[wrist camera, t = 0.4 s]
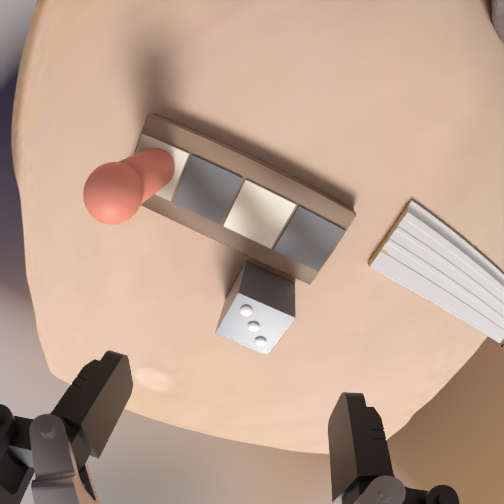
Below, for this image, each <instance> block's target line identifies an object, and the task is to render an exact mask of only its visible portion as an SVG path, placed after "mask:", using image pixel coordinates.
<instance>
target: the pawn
mask: <svg viewBox="0 0 504 504" xmlns="http://www.w3.org/2000/svg"><path fill="white" fill-rule="evenodd" d="M174 173H175V164H174V161H173V158H172V157H171V155H170V154H169V153H168V152H167V151H165V150H163V149H161V148H150V149H147V150H145V151H143V152H140V153H138V154H135V155H133V156H131V157H128V158H126V159H124V160H122V161H119V162H111V163H106V164H103V165H101V166H99V167H98V168H96V169H95V170H94V171H93V172H92V173H91V174H90V176H89V177H88V179H87V181H86V183H85V187H84V194H83V197H84V203H85V206H86V208H87V210H88V212H89V213H90V215H91V216H92V217H93V218H94V219H96V220H97V221H99V222H101V223H104V224H109V225H115V224H120V223H123V222H125V221H127V220H129V219H130V218H132V217H133V216H134V215H135V213H136V212H137V211H138V209H139V207H140V206H141V204H142V203H144V202H145V201H146V200H147V199H149V198H150V197H151V196H153V195H154V194H155V193H156V192H158V191H159V190H160V189H162V188H163V187H164V186H165V185H167V184H168V183H169V182H170V181H171V180H172V178H173V176H174Z"/></svg>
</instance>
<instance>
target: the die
mask: <svg viewBox="0 0 504 504" xmlns="http://www.w3.org/2000/svg"><path fill="white" fill-rule="evenodd" d="M294 319H295V283H292V282H290V281H288V280H286V279H284V278H282V277H280V276H277V275H275V274H273V273H271V272H269V271H267V270H264V269H262V268H260V267H258V266H256V265H254V264H252V263H249V262H247V261H246V263H245V264H244V266H243V268H242V270H241V272H240V274H239V275H238V277H237V279H236V281H235V283H234V285H233V286H232V288H231V290H230V292H229V294H228V296H227V297H226V299H225V302H224V306H223V309H222V312H221V316H220V319H219V322H218V326H217V329H216V332H215V334H217V335H219V336H222V337H224V338H227V339H229V340H231V341H234V342H236V343H239V344H241V345H243V346H246V347H248V348H251V349H253V350H256V351H258V352H261V353H264V354H266V355H267V354H268V353H269V351H270V350H271V349H272V348H273V346H274V345H275V344H276V343H277V341H278V340H279V339H280V337H281V336H282V335H283V333H284V332H285V331H286V329H287V328H288V327H289V326H290V324H291V323H292V322H293V320H294Z"/></svg>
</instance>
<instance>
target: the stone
mask: <svg viewBox="0 0 504 504" xmlns="http://www.w3.org/2000/svg"><path fill="white" fill-rule="evenodd" d="M491 1H492V15H491V16H492V21H493V24H494V27H495V30H496V32H497V33H498V35H499V37H500V39H501V41H502V42H503V43H504V0H491Z"/></svg>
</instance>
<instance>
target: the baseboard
mask: <svg viewBox="0 0 504 504" xmlns="http://www.w3.org/2000/svg"><path fill="white" fill-rule="evenodd" d="M368 265H369V267H371V268H372V269H374V270H376V271H378V272H380V273H382V274H383V275H385V276H387V277H389V278H391V279H392V280H394V281H396V282H398V283H399V284H401V285H403V286H405V287H407V288H408V289H410V290H412V291H414V292H415V293H417V294H419V295H421V296H422V297H424V298H426V299H427V300H429V301H431V302H433V303H434V304H436V305H438V306H439V307H441V308H443V309H445V310H446V311H448V312H450V313H451V314H453V315H455V316H456V317H458V318H460V319H461V320H463V321H465V322H466V323H468V324H470V325H471V326H473V327H475V328H476V329H478V330H479V331H481V332H483V333H484V334H486V335H488V336H489V337H491V338H492V339H494V340H496V341H497V342H499V343H501V341H502V340H503V339H504V274H503V273H502V272H501V271H499V270H498V269H497V268H496V267H495V266H494V265H493V264H492V263H491V262H489V261H488V260H487V259H486V258H485V257H484V256H483V255H482V254H480V253H479V252H478V251H477V250H476V249H475V248H473V247H472V246H471V245H470V244H469V243H467V242H466V241H465V240H464V239H463V238H461V237H460V236H459V235H458V234H456V233H455V232H454V231H453V230H451V229H450V228H449V227H447V226H446V225H445V224H444V223H442V222H441V221H440V220H438V219H437V218H436V217H434V216H433V215H432V214H430V213H429V212H428V211H426V210H425V209H424V208H422V207H421V206H420V205H418V204H417V203H415V202H414V201H413V200H410V202H409V203H408V205H407V206H406V208H405V209H404V211H403V212H402V214H401V215H400V217H399V219H398V220H397V222H396V223H395V224H394V226H393V227H392V229H391V230H390V232H389V233H388V235H387V236H386V238H385V239H384V241H383V242H382V243H381V245H380V246H379V248H378V249H377V250H376V252H375V253H374V255H373V256H372V257H371V259H370V260H369V262H368ZM503 345H504V344H503ZM503 345H502V346H503Z"/></svg>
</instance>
